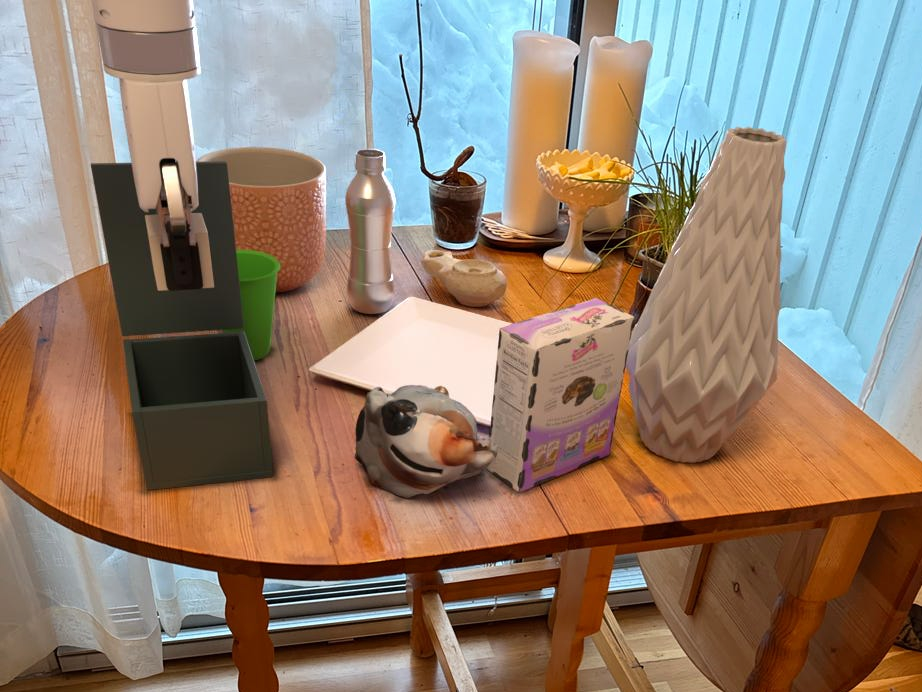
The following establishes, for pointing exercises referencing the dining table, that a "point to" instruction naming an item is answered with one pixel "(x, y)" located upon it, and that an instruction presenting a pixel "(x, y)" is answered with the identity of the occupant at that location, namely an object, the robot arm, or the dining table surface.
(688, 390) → the vase
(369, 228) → the silver metal bottle
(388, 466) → the lucky cat figurine
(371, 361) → the plate
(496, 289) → the oil lamp
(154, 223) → the block
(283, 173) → the planter
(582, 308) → the candy box
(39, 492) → the dining table surface
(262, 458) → the chest
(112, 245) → the lid
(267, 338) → the cup
